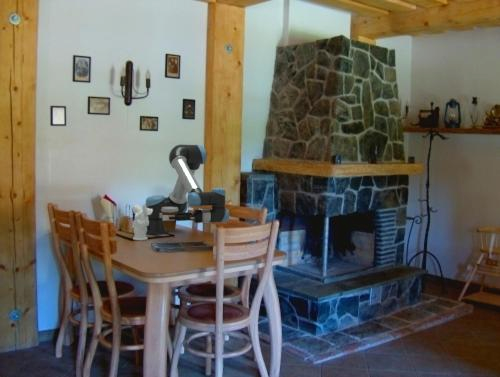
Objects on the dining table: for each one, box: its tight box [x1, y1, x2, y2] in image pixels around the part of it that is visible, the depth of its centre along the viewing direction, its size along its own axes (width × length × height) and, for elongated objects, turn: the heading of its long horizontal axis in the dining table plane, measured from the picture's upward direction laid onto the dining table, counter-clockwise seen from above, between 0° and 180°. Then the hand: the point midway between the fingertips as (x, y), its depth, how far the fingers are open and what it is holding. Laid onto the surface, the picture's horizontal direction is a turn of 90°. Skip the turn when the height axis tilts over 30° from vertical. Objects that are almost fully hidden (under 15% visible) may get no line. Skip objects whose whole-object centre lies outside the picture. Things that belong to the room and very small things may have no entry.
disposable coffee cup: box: [161, 207, 179, 231], centre depth 318 cm, size 10×10×12 cm
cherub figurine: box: [131, 203, 153, 241], centre depth 344 cm, size 12×12×22 cm
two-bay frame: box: [150, 240, 213, 253], centre depth 322 cm, size 20×31×2 cm, turn 109°
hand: (161, 216), depth 316 cm, fingers closed on disposable coffee cup, 8 cm apart
